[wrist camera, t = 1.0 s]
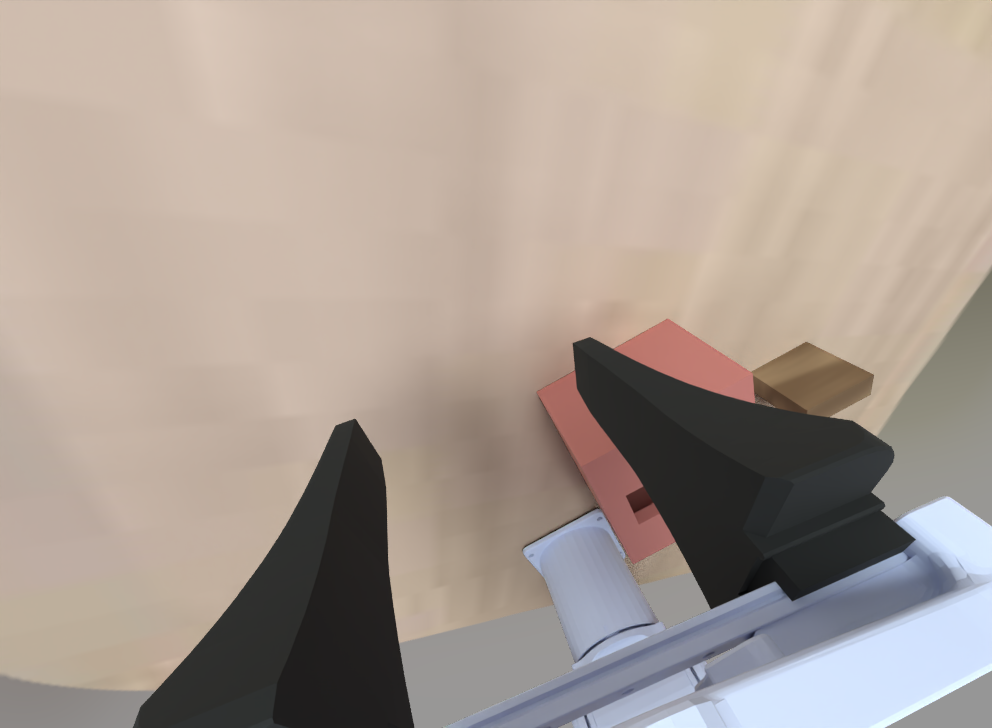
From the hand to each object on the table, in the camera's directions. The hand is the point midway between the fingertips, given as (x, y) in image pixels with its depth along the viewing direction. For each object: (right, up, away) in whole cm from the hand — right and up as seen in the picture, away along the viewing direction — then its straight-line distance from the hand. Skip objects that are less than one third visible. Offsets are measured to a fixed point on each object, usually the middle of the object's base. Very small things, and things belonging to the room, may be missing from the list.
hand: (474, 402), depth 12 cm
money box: (+10, -3, +17) cm, 20 cm away
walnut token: (+23, +1, +18) cm, 30 cm away
